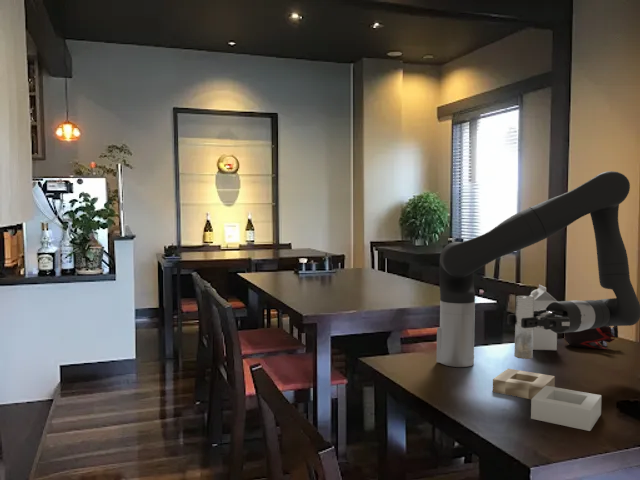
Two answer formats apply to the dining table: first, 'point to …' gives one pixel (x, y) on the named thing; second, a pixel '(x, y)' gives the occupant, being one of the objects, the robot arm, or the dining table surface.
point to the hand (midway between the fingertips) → (515, 321)
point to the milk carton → (540, 335)
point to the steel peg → (524, 334)
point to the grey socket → (566, 407)
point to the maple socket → (521, 383)
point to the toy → (592, 337)
